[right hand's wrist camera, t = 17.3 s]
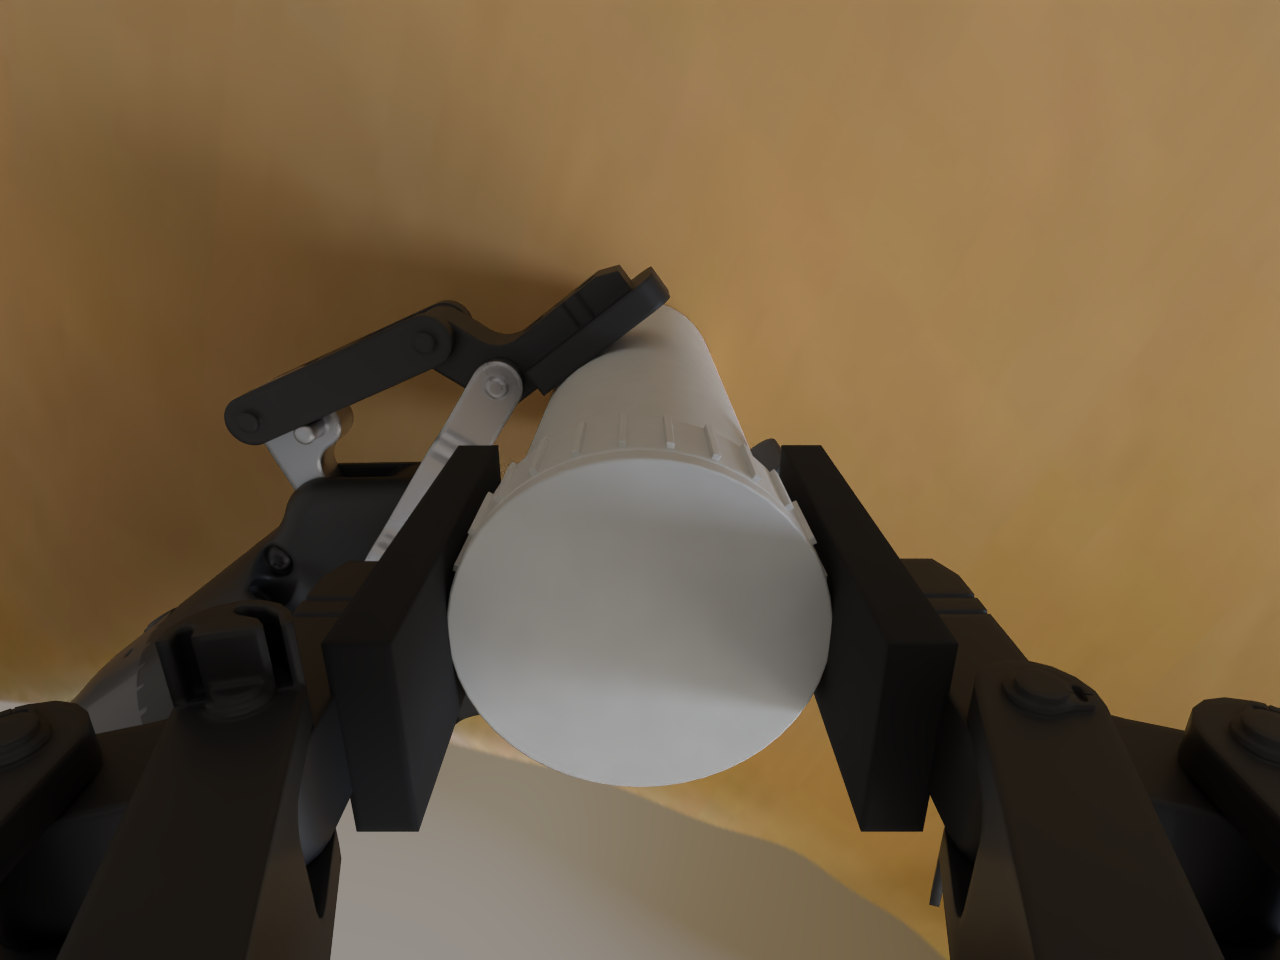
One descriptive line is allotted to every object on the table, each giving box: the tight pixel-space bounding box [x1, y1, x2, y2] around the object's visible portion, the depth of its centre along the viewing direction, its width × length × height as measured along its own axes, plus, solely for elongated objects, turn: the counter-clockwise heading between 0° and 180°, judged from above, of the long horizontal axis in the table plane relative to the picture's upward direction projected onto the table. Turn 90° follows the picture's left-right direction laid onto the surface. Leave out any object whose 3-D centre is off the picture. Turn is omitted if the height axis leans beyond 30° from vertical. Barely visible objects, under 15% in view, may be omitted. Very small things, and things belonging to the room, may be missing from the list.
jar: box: [526, 305, 753, 456], centre depth 18 cm, size 5×5×15 cm
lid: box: [447, 413, 832, 787], centre depth 11 cm, size 6×6×2 cm
